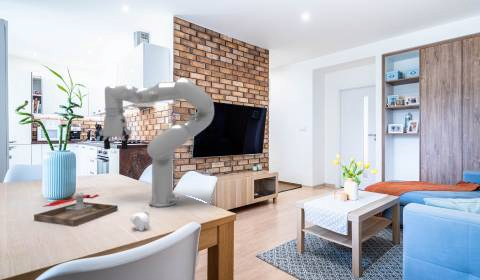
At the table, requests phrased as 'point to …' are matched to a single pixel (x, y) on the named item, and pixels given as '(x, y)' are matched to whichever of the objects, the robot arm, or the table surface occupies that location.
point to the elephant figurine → (140, 220)
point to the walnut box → (72, 220)
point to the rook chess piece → (79, 201)
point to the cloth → (68, 200)
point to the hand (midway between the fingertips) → (115, 149)
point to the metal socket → (78, 210)
